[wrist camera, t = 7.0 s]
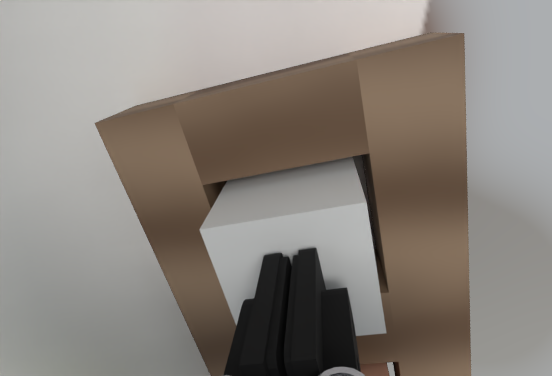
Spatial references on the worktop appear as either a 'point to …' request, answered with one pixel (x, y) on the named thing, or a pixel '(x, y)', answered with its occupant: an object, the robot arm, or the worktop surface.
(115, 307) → the worktop surface
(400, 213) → the brown rectangular frame
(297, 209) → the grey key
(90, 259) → the worktop surface
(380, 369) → the terracotta key
